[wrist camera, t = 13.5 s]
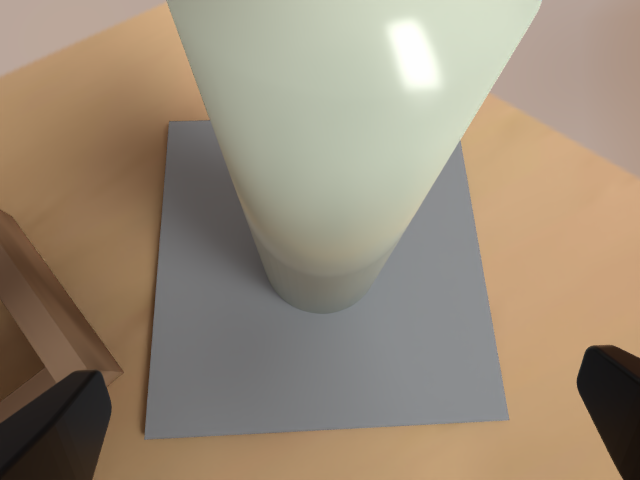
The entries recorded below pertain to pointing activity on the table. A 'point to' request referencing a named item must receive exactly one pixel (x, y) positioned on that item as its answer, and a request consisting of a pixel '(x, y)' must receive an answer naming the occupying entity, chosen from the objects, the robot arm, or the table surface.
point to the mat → (312, 319)
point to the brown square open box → (45, 320)
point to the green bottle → (341, 120)
